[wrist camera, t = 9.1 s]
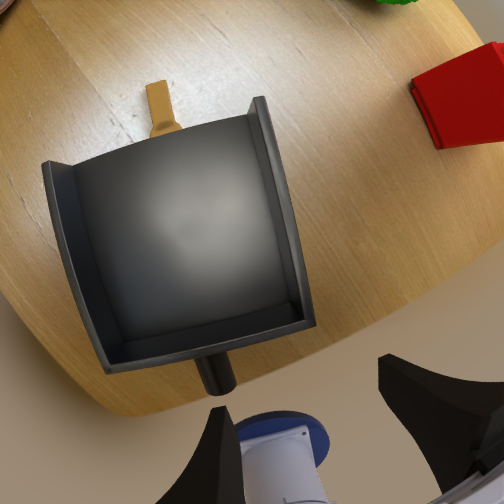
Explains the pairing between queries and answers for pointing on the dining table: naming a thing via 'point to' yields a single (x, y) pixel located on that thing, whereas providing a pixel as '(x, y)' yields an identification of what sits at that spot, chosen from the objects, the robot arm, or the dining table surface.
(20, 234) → the dining table surface
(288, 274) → the grey sheet metal tray
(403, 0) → the ornament
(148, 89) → the spoon
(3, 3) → the alarm clock
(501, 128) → the french fries container
